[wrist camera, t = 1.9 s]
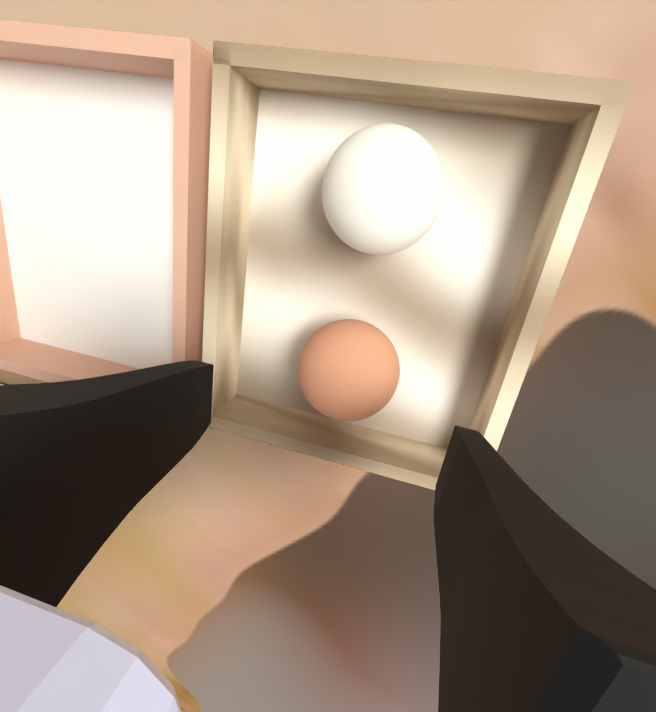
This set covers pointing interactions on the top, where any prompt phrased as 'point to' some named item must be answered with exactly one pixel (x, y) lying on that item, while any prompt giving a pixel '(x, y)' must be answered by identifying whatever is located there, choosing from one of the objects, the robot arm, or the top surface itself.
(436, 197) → the cream ball
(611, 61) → the top surface
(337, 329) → the terracotta ball
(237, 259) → the box
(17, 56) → the peach open box
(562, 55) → the top surface
